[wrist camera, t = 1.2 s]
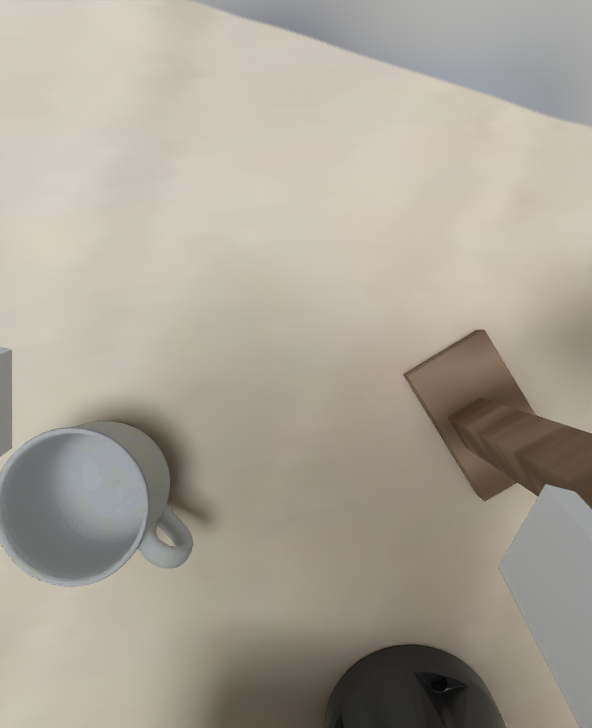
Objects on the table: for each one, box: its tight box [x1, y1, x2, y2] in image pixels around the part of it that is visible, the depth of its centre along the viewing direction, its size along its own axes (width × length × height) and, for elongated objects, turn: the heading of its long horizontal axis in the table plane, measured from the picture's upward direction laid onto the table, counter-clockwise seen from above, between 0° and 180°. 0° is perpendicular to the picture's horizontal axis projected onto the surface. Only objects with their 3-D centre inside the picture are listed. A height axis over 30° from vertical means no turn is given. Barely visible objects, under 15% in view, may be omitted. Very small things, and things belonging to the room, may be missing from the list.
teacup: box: [0, 421, 193, 587], centre depth 31 cm, size 14×11×8 cm
